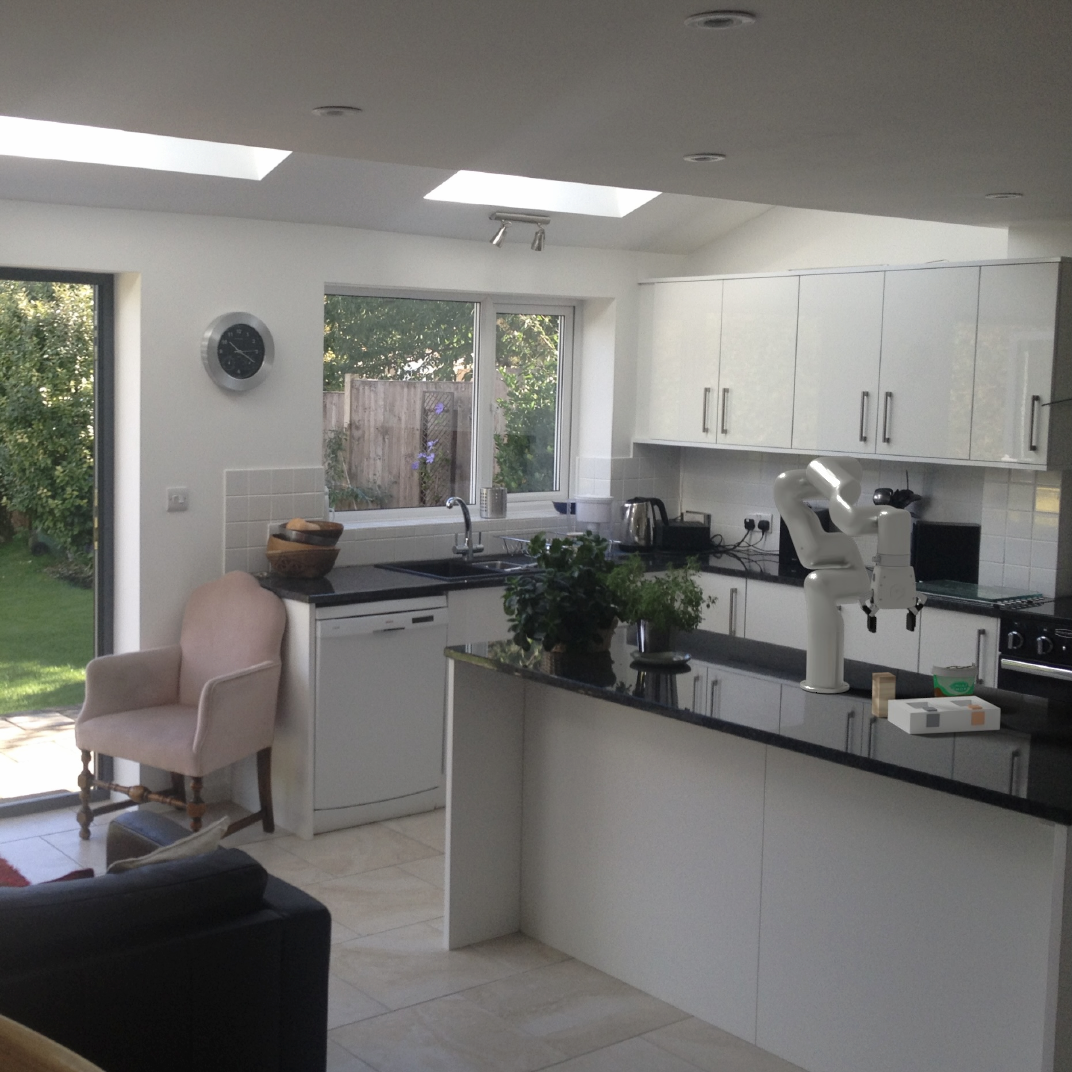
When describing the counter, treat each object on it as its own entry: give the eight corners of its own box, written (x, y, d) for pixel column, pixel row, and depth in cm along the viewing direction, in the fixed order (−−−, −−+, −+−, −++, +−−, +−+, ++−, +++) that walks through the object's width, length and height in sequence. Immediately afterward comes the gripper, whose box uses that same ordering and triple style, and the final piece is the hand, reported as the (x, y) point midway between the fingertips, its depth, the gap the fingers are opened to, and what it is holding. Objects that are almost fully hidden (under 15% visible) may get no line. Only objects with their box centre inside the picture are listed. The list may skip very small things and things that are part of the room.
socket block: (887, 720, 303) (888, 698, 302) (974, 716, 306) (975, 694, 306) (910, 734, 291) (910, 711, 290) (1000, 730, 294) (1001, 707, 294)
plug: (871, 713, 310) (872, 673, 309) (887, 712, 310) (888, 672, 309) (878, 717, 306) (879, 676, 305) (894, 716, 306) (895, 676, 305)
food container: (944, 710, 312) (945, 670, 310) (929, 704, 318) (931, 665, 316) (987, 706, 315) (989, 667, 314) (973, 701, 321) (974, 662, 320)
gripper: (865, 564, 298) (863, 635, 301) (934, 562, 301) (932, 633, 303) (852, 559, 306) (850, 629, 308) (920, 557, 308) (918, 627, 311)
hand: (891, 631), depth 306 cm, fingers open, 9 cm apart
